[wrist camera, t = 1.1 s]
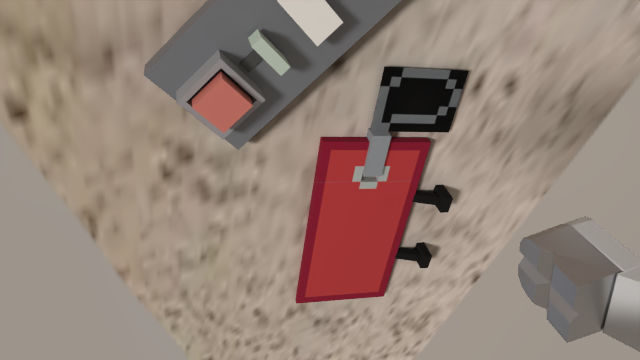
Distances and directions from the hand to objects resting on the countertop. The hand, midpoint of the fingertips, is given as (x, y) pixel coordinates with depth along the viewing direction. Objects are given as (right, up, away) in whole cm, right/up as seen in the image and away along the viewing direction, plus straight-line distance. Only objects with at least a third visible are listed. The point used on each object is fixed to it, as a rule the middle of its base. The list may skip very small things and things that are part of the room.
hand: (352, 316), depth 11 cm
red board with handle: (+5, +1, +42) cm, 43 cm away
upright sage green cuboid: (-5, +13, +27) cm, 30 cm away
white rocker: (-1, +16, +26) cm, 30 cm away
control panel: (-3, +16, +28) cm, 33 cm away
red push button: (-8, +9, +27) cm, 30 cm away
